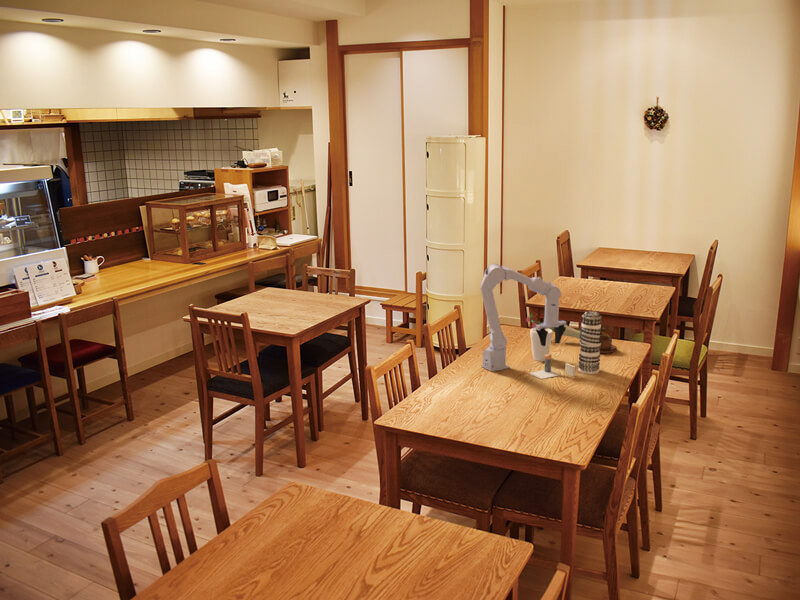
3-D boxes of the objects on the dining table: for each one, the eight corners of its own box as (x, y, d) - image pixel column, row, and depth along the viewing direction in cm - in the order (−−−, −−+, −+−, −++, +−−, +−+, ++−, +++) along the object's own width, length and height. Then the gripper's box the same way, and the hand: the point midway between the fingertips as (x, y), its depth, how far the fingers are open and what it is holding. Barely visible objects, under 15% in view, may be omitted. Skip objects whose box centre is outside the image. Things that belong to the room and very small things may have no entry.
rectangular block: (574, 376, 291) (575, 366, 290) (573, 376, 291) (573, 367, 290) (566, 372, 296) (567, 363, 295) (565, 372, 295) (565, 363, 294)
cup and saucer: (617, 355, 317) (618, 342, 315) (589, 354, 319) (590, 341, 317) (615, 347, 328) (616, 335, 326) (588, 346, 330) (589, 333, 329)
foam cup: (552, 362, 308) (554, 333, 305) (531, 362, 309) (532, 333, 306) (548, 355, 318) (549, 327, 315) (528, 355, 318) (528, 327, 315)
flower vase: (591, 362, 331) (519, 339, 341) (596, 347, 340) (526, 325, 351) (597, 342, 324) (523, 319, 335) (602, 328, 333) (530, 306, 344)
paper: (541, 379, 288) (541, 378, 288) (529, 373, 295) (529, 372, 295) (560, 375, 292) (560, 374, 292) (548, 369, 299) (548, 368, 299)
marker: (547, 372, 295) (547, 356, 293) (543, 370, 297) (543, 354, 295) (552, 371, 296) (552, 355, 294) (548, 369, 298) (548, 353, 297)
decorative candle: (574, 372, 296) (577, 314, 290) (580, 365, 304) (583, 309, 298) (597, 375, 292) (600, 316, 286) (602, 368, 300) (605, 311, 294)
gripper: (543, 317, 291) (542, 349, 294) (571, 313, 297) (570, 344, 301) (533, 313, 297) (532, 344, 300) (560, 309, 303) (559, 339, 307)
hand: (550, 344), depth 301 cm, fingers open, 7 cm apart
